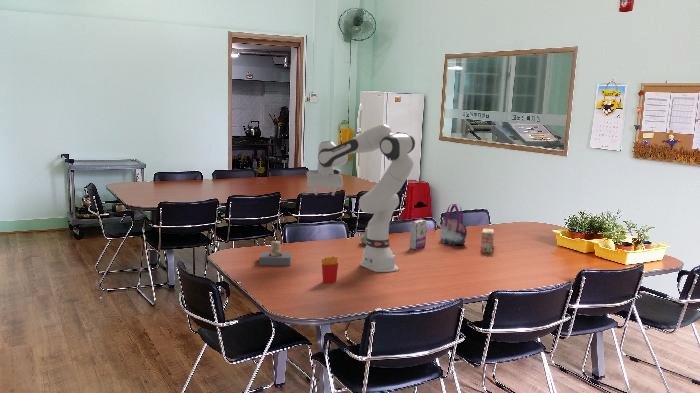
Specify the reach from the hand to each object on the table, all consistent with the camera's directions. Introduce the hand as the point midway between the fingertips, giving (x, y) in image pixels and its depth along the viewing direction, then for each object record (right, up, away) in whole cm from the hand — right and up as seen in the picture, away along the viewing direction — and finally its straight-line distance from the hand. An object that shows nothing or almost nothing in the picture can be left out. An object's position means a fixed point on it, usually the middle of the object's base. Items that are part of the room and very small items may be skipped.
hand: (324, 195), depth 329 cm
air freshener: (+26, -30, +31) cm, 51 cm away
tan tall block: (-25, -34, -19) cm, 47 cm away
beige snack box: (+98, -33, +31) cm, 108 cm away
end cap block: (-25, -35, -19) cm, 47 cm away
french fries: (+4, -41, -50) cm, 65 cm away
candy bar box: (+55, -32, +27) cm, 69 cm away
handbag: (+79, -30, +42) cm, 94 cm away
